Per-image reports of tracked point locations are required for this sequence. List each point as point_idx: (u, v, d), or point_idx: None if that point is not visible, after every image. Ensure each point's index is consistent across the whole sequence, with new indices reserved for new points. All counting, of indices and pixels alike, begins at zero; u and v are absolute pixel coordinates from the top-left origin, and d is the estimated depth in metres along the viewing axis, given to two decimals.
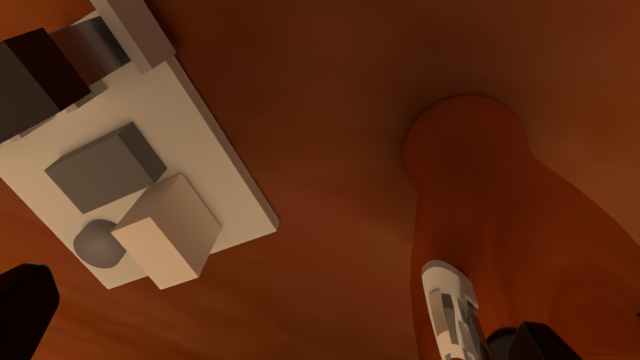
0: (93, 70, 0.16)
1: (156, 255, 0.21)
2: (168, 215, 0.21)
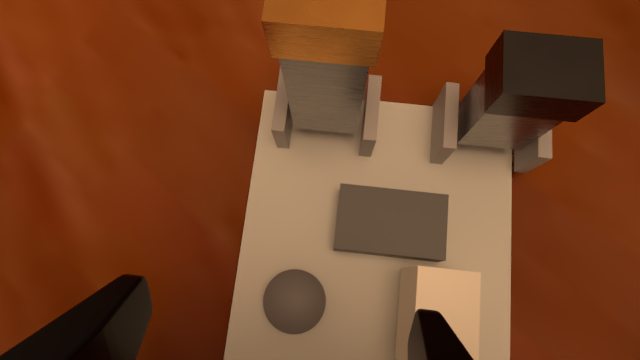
0: None
1: (448, 323, 0.16)
2: None
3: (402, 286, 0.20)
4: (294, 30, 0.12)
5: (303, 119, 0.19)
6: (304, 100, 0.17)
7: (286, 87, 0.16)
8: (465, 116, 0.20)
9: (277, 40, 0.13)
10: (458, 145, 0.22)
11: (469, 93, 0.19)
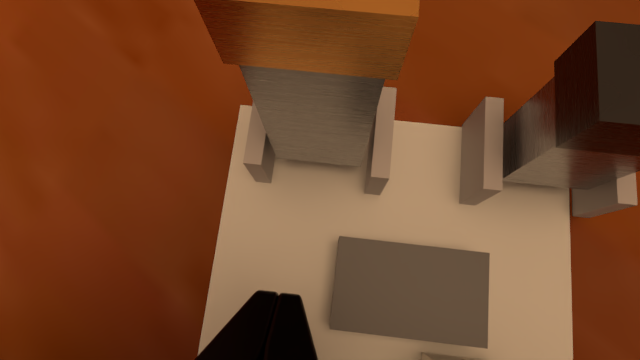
0: None
1: None
2: None
3: None
4: (254, 15, 0.07)
5: (287, 148, 0.14)
6: (287, 125, 0.12)
7: (258, 107, 0.11)
8: (513, 144, 0.14)
9: (229, 34, 0.07)
10: None
11: (520, 113, 0.14)
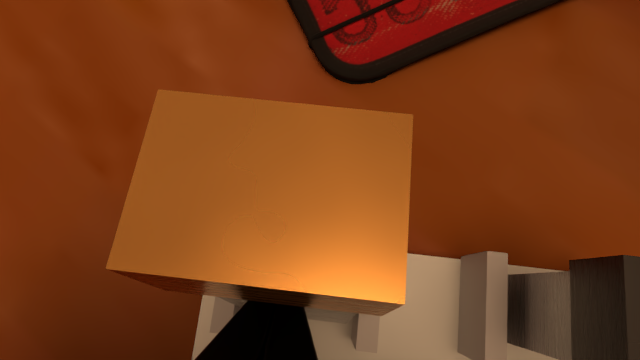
0: None
1: None
2: None
3: None
4: (191, 282, 0.05)
5: None
6: None
7: (219, 297, 0.09)
8: (519, 312, 0.12)
9: (165, 284, 0.06)
10: None
11: (526, 279, 0.12)
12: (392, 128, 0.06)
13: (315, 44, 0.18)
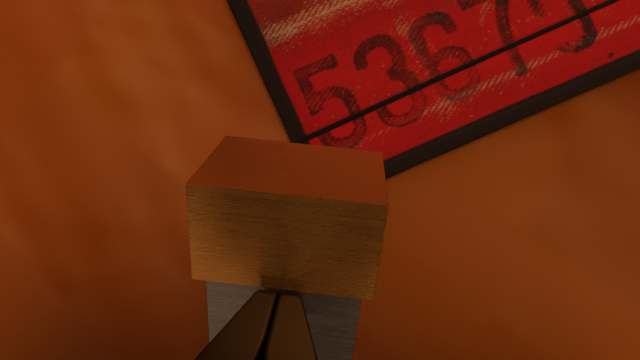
0: None
1: None
2: None
3: None
4: (239, 206, 0.07)
5: None
6: None
7: None
8: None
9: (208, 234, 0.08)
10: None
11: None
12: (370, 154, 0.09)
13: None
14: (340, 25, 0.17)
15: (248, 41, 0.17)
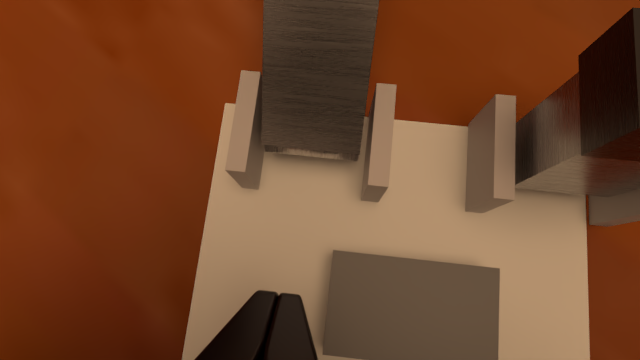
0: None
1: None
2: None
3: None
4: None
5: (280, 106, 0.13)
6: (288, 28, 0.12)
7: None
8: (527, 148, 0.13)
9: None
10: None
11: (534, 113, 0.12)
12: None
13: None
14: None
15: None
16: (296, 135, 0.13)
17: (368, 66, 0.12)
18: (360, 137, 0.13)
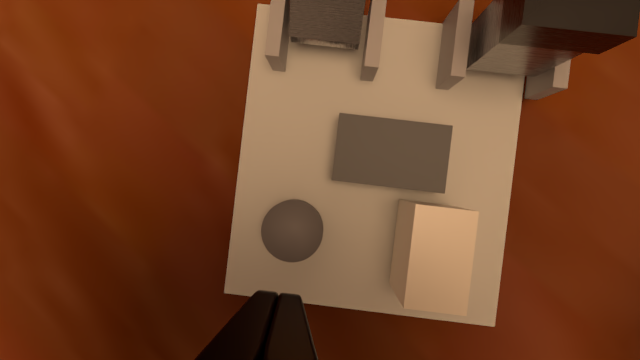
0: None
1: (442, 260, 0.16)
2: None
3: (399, 217, 0.20)
4: None
5: (303, 7, 0.17)
6: None
7: None
8: (477, 40, 0.18)
9: None
10: None
11: (484, 13, 0.17)
12: None
13: None
14: None
15: None
16: (314, 29, 0.18)
17: None
18: (360, 31, 0.18)
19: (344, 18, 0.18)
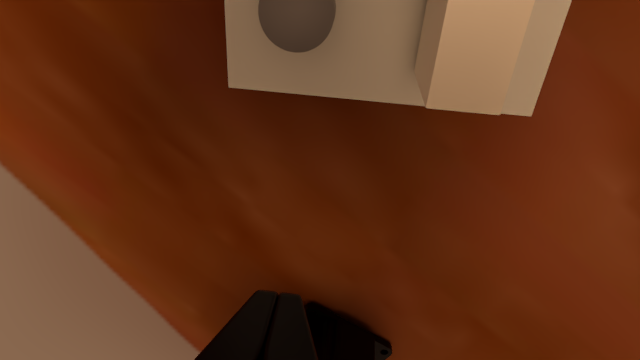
0: None
1: (479, 50, 0.13)
2: None
3: None
4: None
5: None
6: None
7: None
8: None
9: None
10: None
11: None
12: None
13: None
14: None
15: None
16: None
17: None
18: None
19: None
